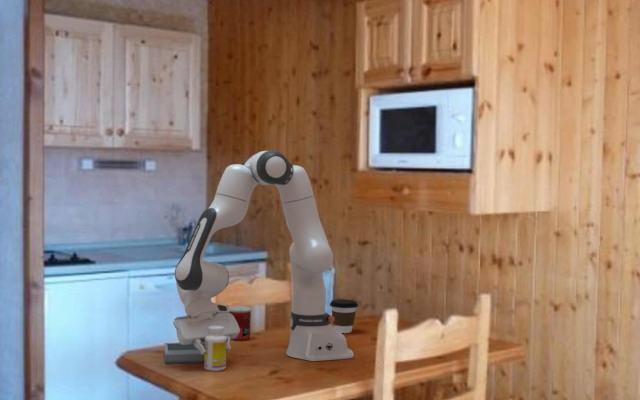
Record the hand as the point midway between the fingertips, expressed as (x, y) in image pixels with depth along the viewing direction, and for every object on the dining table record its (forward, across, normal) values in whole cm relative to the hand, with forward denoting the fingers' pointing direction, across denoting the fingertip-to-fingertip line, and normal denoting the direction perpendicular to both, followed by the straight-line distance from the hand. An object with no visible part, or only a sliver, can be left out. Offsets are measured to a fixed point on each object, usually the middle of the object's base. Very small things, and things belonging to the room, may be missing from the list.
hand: (216, 351), depth 227 cm
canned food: (-19, +28, +27) cm, 44 cm away
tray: (-8, +1, +16) cm, 18 cm away
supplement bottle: (+4, 0, +4) cm, 6 cm away
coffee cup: (-12, +69, +20) cm, 73 cm away
